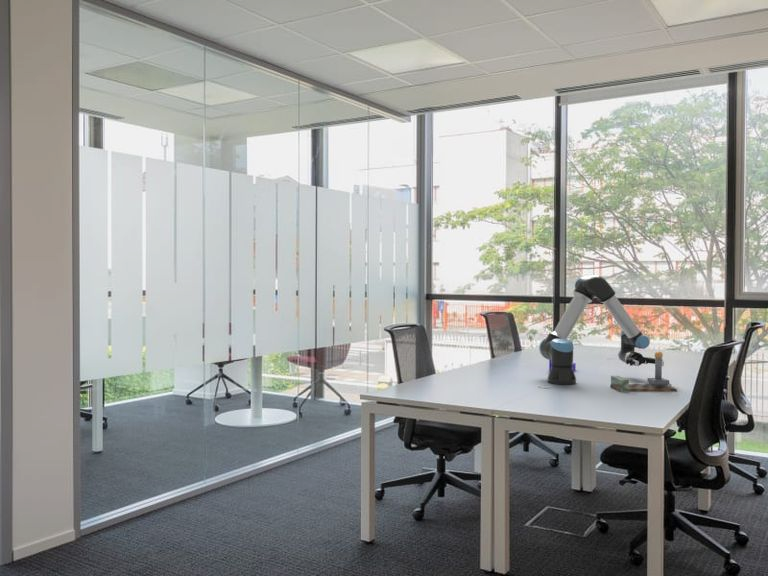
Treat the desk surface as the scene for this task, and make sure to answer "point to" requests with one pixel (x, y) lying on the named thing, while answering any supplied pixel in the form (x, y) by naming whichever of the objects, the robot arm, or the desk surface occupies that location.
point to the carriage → (658, 372)
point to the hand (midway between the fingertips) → (650, 363)
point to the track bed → (636, 385)
